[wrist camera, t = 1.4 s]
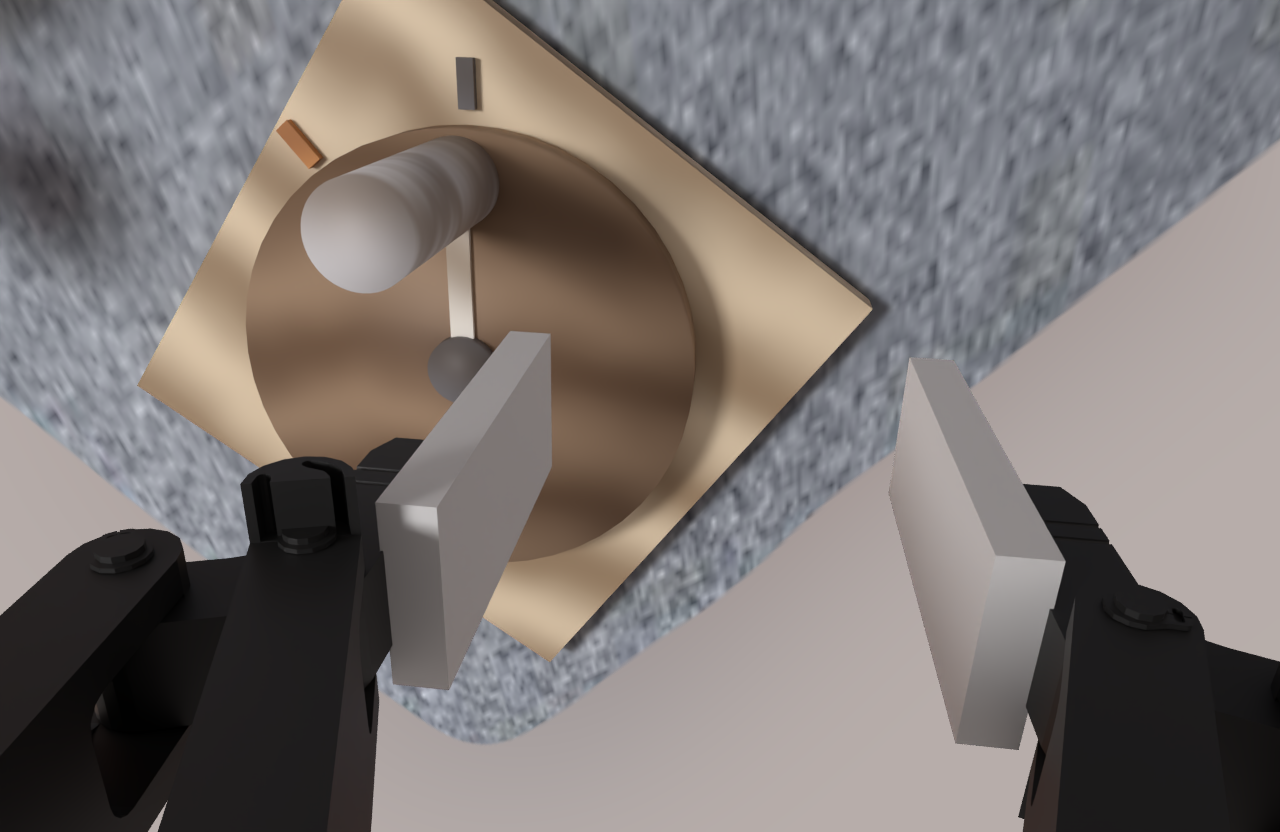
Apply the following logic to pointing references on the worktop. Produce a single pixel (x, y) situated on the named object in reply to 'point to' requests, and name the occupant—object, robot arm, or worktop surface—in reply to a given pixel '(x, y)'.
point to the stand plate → (611, 144)
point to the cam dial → (475, 313)
